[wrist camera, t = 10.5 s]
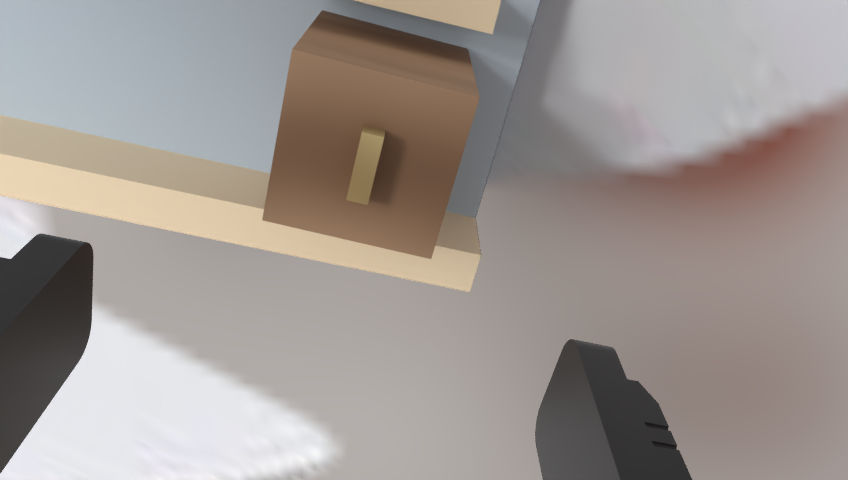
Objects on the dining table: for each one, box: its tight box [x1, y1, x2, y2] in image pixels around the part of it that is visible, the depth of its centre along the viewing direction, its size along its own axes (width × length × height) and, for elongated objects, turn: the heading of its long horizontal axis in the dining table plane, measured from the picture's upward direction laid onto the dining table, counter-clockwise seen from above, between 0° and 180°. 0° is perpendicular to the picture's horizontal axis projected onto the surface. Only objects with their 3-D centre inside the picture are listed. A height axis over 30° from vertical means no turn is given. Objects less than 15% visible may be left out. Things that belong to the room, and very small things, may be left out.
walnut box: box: [262, 10, 480, 259], centre depth 22 cm, size 5×5×7 cm
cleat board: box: [0, 0, 540, 292], centre depth 23 cm, size 12×22×4 cm, turn 77°
